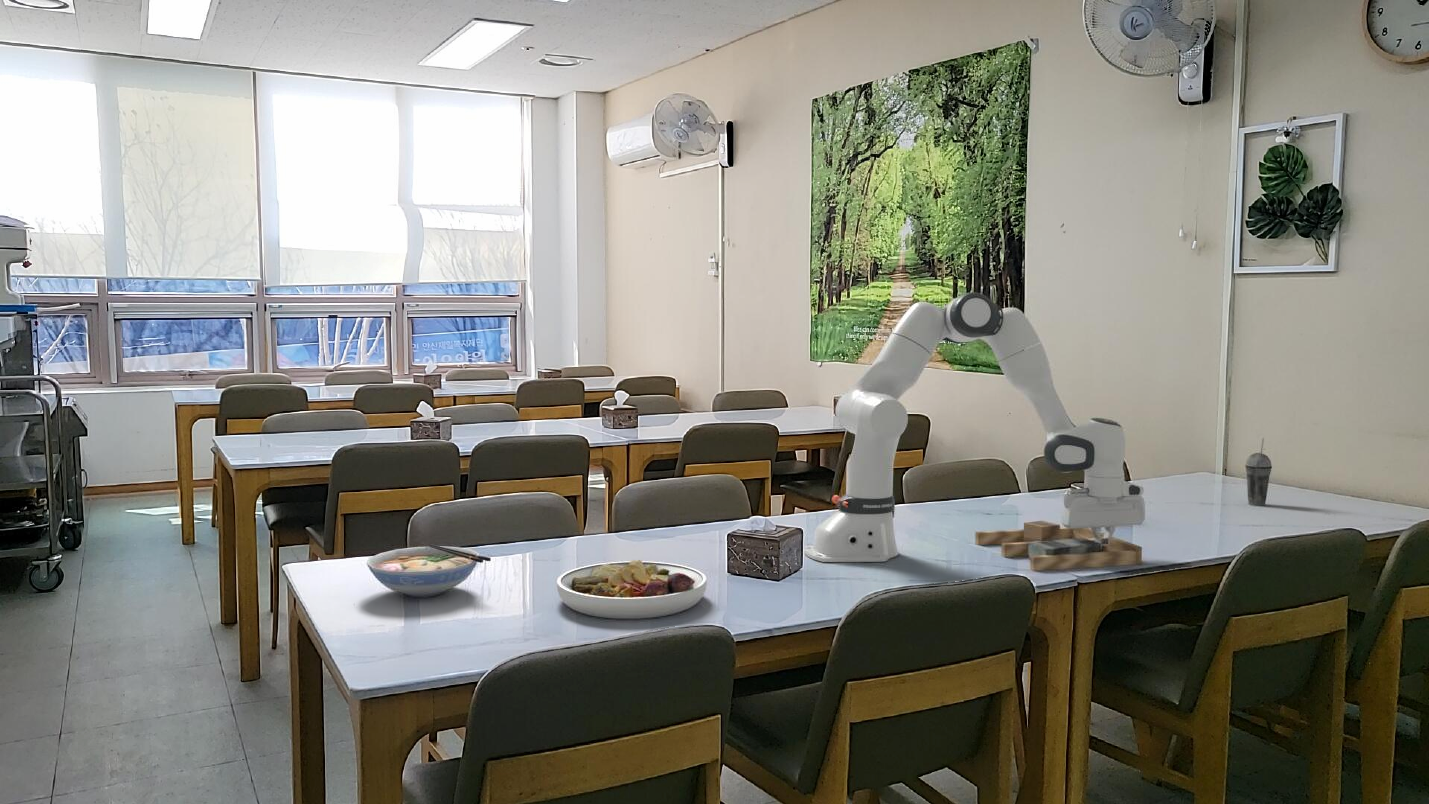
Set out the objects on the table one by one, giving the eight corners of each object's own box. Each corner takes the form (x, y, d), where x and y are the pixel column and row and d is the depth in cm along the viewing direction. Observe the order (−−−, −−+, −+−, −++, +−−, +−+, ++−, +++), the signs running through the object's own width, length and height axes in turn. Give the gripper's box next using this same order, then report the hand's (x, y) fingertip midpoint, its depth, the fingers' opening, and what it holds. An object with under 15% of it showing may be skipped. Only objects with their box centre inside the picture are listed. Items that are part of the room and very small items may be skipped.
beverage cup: (1237, 503, 329) (1240, 437, 327) (1257, 501, 331) (1260, 436, 329) (1256, 507, 322) (1259, 440, 320) (1276, 506, 324) (1279, 439, 322)
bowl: (525, 608, 216) (525, 569, 215) (620, 577, 241) (620, 542, 240) (646, 633, 199) (646, 591, 199) (734, 597, 224) (735, 559, 223)
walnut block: (1041, 551, 265) (1041, 527, 264) (1023, 546, 270) (1024, 522, 270) (1059, 548, 268) (1059, 524, 267) (1041, 544, 273) (1041, 520, 272)
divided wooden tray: (1033, 570, 245) (1034, 553, 245) (975, 543, 273) (975, 527, 273) (1141, 564, 252) (1142, 547, 251) (1073, 538, 279) (1074, 522, 279)
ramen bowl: (344, 591, 227) (343, 553, 226) (442, 572, 243) (441, 536, 242) (404, 616, 209) (403, 574, 208) (505, 594, 225) (504, 555, 224)
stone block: (1024, 561, 256) (1025, 539, 256) (1078, 557, 260) (1079, 535, 259) (1045, 569, 248) (1046, 546, 247) (1101, 565, 251) (1101, 543, 251)
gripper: (1071, 491, 251) (1070, 550, 252) (1149, 487, 256) (1147, 545, 257) (1057, 486, 257) (1055, 544, 258) (1133, 483, 262) (1131, 540, 263)
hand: (1102, 545), depth 258 cm, fingers closed
